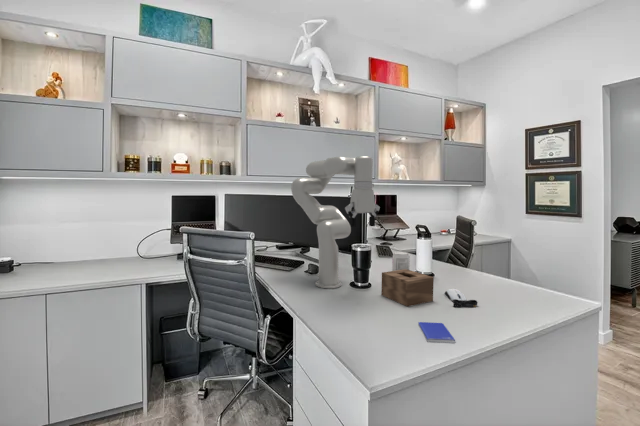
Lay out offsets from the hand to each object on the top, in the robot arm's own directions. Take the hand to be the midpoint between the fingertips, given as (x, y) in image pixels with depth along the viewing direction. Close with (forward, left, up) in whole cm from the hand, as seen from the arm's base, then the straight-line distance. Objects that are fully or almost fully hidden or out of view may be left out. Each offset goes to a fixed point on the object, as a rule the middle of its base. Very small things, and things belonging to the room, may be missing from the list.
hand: (362, 226), depth 134 cm
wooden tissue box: (+10, +16, -30) cm, 36 cm away
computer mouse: (+22, +33, -31) cm, 50 cm away
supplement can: (-9, +30, -31) cm, 44 cm away
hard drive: (+40, 0, -31) cm, 51 cm away
